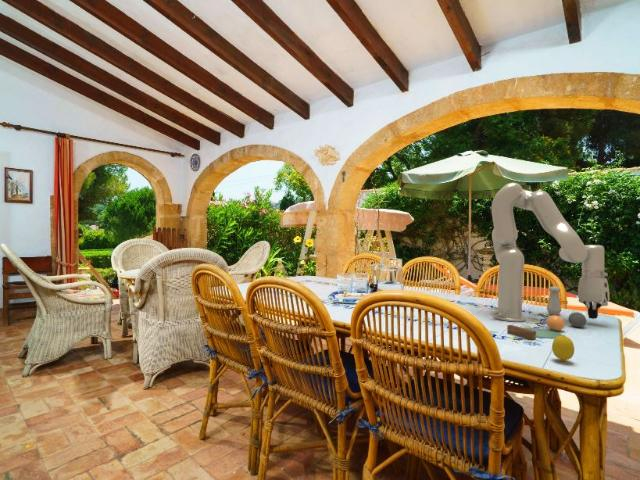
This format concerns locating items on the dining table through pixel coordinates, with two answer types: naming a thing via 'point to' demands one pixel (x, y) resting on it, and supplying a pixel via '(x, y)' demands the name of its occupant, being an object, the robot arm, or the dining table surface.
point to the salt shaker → (554, 301)
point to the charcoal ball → (577, 319)
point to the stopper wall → (521, 332)
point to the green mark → (545, 333)
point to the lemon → (563, 348)
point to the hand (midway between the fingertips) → (592, 318)
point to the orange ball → (555, 323)
